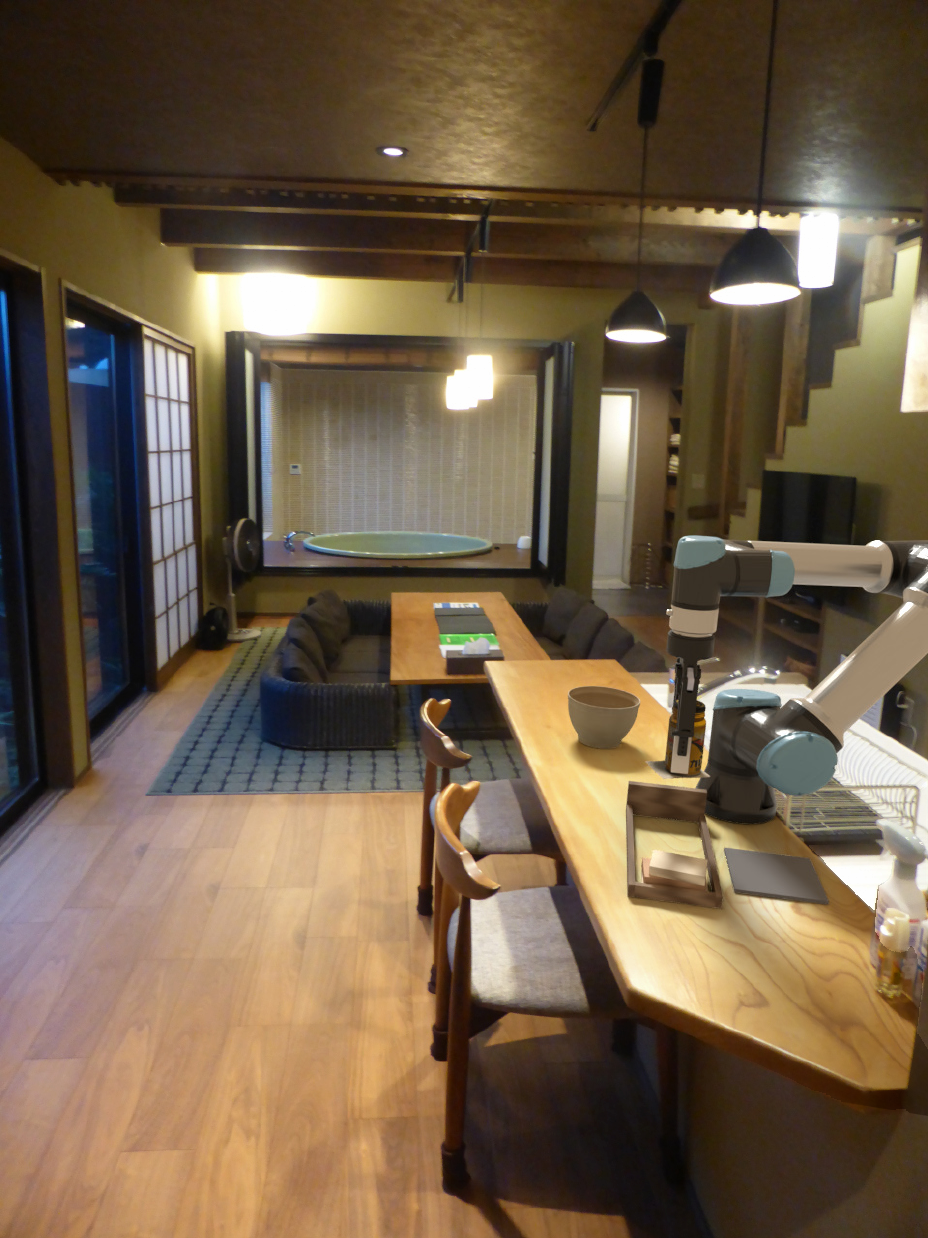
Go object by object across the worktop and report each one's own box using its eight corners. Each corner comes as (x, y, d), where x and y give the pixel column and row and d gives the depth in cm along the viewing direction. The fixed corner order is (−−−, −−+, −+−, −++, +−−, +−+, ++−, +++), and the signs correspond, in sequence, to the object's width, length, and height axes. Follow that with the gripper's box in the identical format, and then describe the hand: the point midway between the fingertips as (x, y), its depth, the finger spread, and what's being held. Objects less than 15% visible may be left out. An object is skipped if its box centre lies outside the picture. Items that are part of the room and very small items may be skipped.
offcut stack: (704, 882, 140) (707, 856, 139) (707, 905, 133) (710, 877, 132) (640, 873, 142) (643, 847, 141) (639, 895, 135) (642, 867, 134)
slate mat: (809, 861, 148) (809, 858, 148) (828, 904, 135) (828, 901, 135) (723, 850, 150) (724, 847, 150) (734, 892, 137) (734, 889, 137)
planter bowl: (604, 761, 188) (608, 712, 185) (549, 738, 200) (553, 692, 197) (650, 745, 198) (655, 699, 196) (595, 725, 210) (599, 681, 208)
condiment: (710, 777, 146) (718, 708, 143) (663, 780, 144) (670, 710, 141) (690, 761, 153) (697, 695, 150) (644, 763, 151) (651, 696, 148)
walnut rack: (702, 820, 162) (706, 789, 160) (721, 908, 132) (726, 872, 131) (625, 810, 164) (628, 780, 163) (627, 896, 134) (631, 860, 133)
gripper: (665, 617, 153) (653, 742, 158) (671, 643, 134) (657, 784, 139) (709, 620, 151) (695, 746, 157) (722, 647, 133) (706, 789, 138)
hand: (677, 764), depth 148 cm, fingers closed on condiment, 6 cm apart
